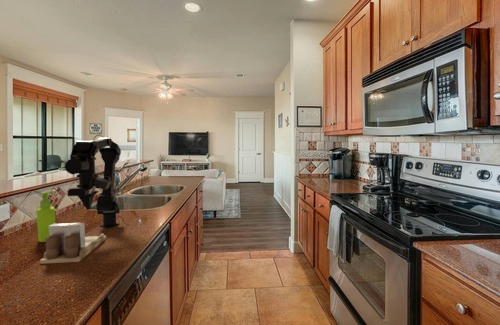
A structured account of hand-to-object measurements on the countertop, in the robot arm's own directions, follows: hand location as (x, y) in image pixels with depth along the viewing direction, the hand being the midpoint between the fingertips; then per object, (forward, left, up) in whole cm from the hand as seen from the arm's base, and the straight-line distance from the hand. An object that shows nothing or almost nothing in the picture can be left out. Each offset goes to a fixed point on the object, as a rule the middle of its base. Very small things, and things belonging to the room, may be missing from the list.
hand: (88, 209), depth 107 cm
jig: (+6, -8, -13) cm, 16 cm away
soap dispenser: (-16, -9, -13) cm, 22 cm away
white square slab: (+10, -12, -12) cm, 20 cm away
